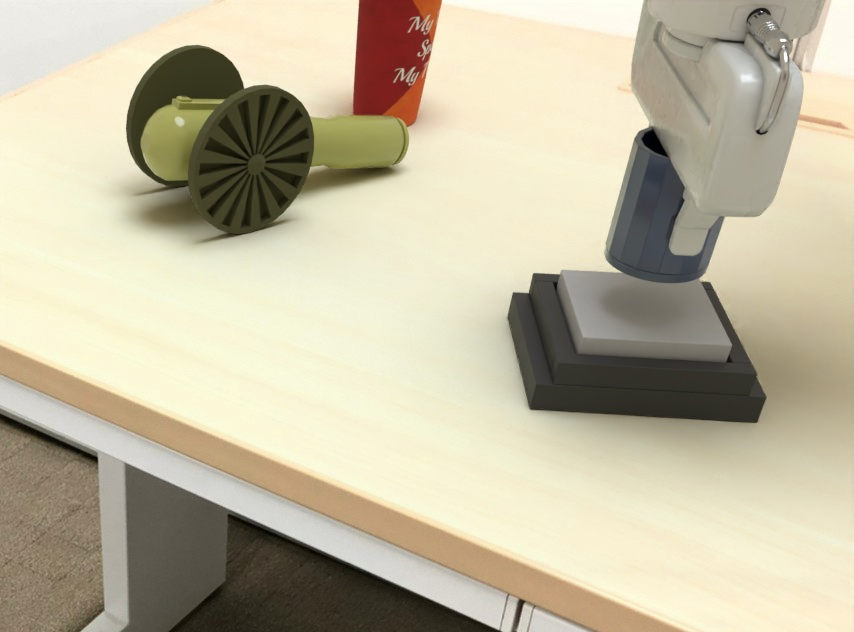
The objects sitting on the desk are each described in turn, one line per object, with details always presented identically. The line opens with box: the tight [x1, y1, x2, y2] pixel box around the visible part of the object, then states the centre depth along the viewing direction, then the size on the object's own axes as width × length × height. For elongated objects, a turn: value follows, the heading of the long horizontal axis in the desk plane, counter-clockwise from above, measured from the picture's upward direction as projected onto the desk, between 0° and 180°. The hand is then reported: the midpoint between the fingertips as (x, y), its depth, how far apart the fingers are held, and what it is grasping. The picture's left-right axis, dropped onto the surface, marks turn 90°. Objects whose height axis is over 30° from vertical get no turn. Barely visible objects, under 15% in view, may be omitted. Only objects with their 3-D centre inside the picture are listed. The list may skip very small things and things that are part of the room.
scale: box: [507, 272, 768, 423], centre depth 82 cm, size 14×12×4 cm
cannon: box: [125, 44, 410, 235], centre depth 101 cm, size 25×12×11 cm, turn 117°
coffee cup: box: [352, 0, 443, 127], centre depth 112 cm, size 8×8×15 cm
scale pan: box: [556, 269, 732, 362], centre depth 81 cm, size 9×9×2 cm
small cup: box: [603, 126, 726, 283], centre depth 76 cm, size 6×6×8 cm
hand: (667, 221), depth 77 cm, fingers closed on small cup, 6 cm apart
